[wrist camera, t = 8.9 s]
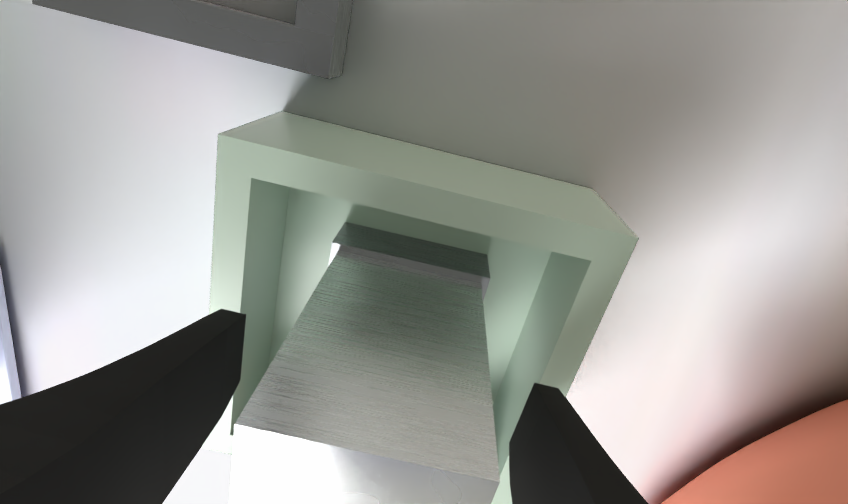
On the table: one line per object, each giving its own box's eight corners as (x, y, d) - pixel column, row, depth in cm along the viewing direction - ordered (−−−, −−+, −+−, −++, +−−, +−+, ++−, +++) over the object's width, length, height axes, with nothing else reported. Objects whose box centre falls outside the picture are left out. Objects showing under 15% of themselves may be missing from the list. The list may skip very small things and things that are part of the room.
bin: (255, 365, 18) (202, 448, 14) (281, 111, 14) (217, 133, 10) (499, 422, 18) (509, 517, 14) (592, 188, 14) (639, 238, 10)
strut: (326, 340, 16) (212, 592, 9) (345, 221, 14) (220, 411, 7) (452, 368, 16) (446, 640, 9) (487, 254, 14) (516, 475, 7)
